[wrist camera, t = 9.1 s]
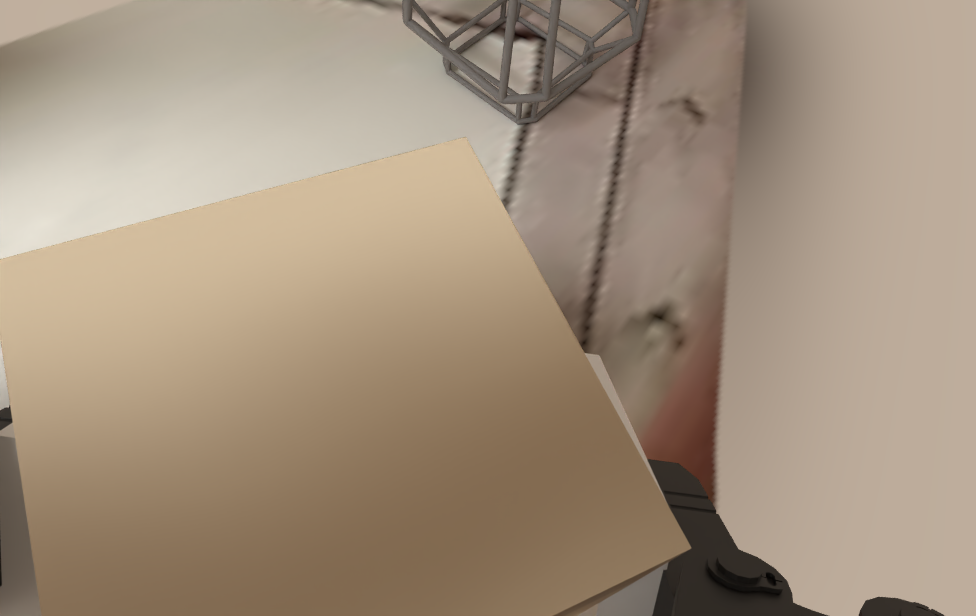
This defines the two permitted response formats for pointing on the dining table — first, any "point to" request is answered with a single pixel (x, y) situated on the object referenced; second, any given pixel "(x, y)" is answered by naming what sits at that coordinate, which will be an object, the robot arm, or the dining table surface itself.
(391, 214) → the pillar
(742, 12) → the dining table surface
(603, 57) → the geometric lantern
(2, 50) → the dining table surface
